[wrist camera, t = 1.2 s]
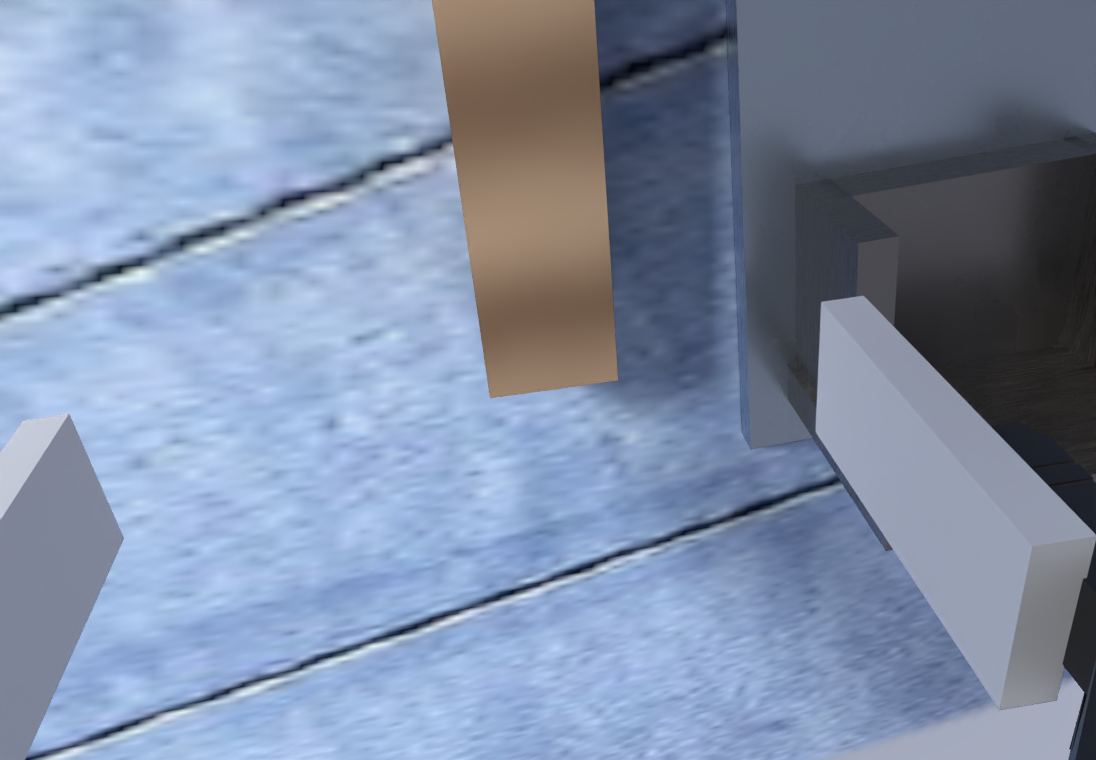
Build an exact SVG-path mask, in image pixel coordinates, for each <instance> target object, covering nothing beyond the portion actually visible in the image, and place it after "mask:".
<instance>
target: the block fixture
mask: <svg viewBox="0 0 1096 760" xmlns="http://www.w3.org/2000/svg"><path fill="white" fill-rule="evenodd" d="M726 25H727V51H728V78H729V105H730V131H731V158H732V184H733V211H734V237H735V264H736V291H737V317H738V344H739V370H740V397H741V423H742V434H743V436H744V438H745V439H746V441H747V443H748V445H749V447H750V449H755V448H760V447H766V446H771V445H777V444H783V443H788V442H794V441H799V440H805V439H810V438H813V439H814V441H815V442H816V444H817V445H818V447H819V448H820V450H821V451H822V453H823V455H824V456H825V458H826V459H827V461H828V462H829V464H830V465H831V467H832V468H833V470H834V472H835V473H836V475H837V476H838V478H839V479H840V481H841V482H842V484H843V485H844V487H845V488H846V490H847V492H848V493H849V495H850V496H851V498H852V499H853V501H854V502H855V504H856V505H857V507H858V509H859V510H860V512H861V513H862V515H863V516H864V518H865V519H866V521H867V522H868V524H869V526H870V527H871V529H872V530H873V532H874V533H875V535H876V536H877V538H878V539H879V541H880V542H881V544H882V546H883V547H884V549H885V550H886V551H888V550H893V548H892V547H891V545H890V544H889V542H888V541H887V539H886V538H885V536H884V535H883V533H882V532H881V530H880V529H879V527H878V526H877V524H876V523H875V521H874V520H873V518H872V517H871V515H870V514H869V512H868V511H867V509H866V508H865V506H864V505H863V503H862V502H861V500H860V499H859V497H858V495H857V494H856V492H855V491H854V489H853V488H852V486H851V485H850V483H849V482H848V480H847V479H846V477H845V476H844V474H843V473H842V471H841V470H840V468H839V467H838V465H837V464H836V462H835V461H834V459H833V458H832V456H831V455H830V453H829V452H828V450H827V449H826V447H825V446H824V444H823V442H822V441H821V439H820V438H819V436H818V435H817V433H816V409H817V386H818V364H819V341H820V318H821V302H824V301H831V300H838V299H845V298H851V297H858V296H864V297H865V298H866V299H867V300H868V301H869V302H870V303H871V304H872V305H873V306H874V307H875V308H876V309H877V310H878V311H879V312H880V313H881V314H882V315H883V316H884V317H885V318H886V319H887V320H888V321H889V322H890V323H891V324H892V325H893V326H894V327H895V328H896V329H897V331H898V332H899V333H900V334H901V335H902V336H903V337H904V338H905V339H906V340H907V341H908V342H909V343H910V344H911V345H912V346H913V347H914V348H915V349H916V350H917V351H918V352H919V353H920V354H921V355H922V356H923V357H924V358H925V359H926V360H927V361H928V362H929V363H930V365H931V366H932V367H933V368H934V369H935V370H936V371H937V372H938V373H939V374H940V375H941V376H942V377H943V378H944V379H945V380H946V381H947V382H948V383H949V384H950V385H951V386H952V387H953V388H954V389H955V390H956V391H957V392H958V393H959V394H960V395H961V396H962V397H963V398H964V400H965V401H966V402H967V403H968V404H969V405H970V406H971V407H972V408H973V409H974V410H975V411H976V412H977V413H978V414H979V415H980V416H981V417H982V418H983V419H984V420H985V421H986V422H987V423H988V424H989V425H990V426H994V425H1001V424H1007V423H1014V422H1020V423H1022V424H1024V425H1026V426H1028V427H1030V428H1032V429H1034V430H1036V431H1038V432H1040V433H1042V434H1044V435H1046V436H1048V437H1050V438H1052V439H1053V440H1054V441H1055V442H1056V443H1057V444H1058V445H1059V446H1061V447H1062V448H1063V449H1064V450H1065V451H1066V452H1067V453H1068V454H1069V455H1070V456H1071V457H1072V458H1073V459H1074V460H1075V464H1076V465H1078V464H1080V465H1081V466H1082V467H1083V468H1084V469H1085V470H1086V471H1087V472H1088V473H1089V474H1090V475H1091V476H1092V477H1093V480H1094V482H1096V0H726Z"/></svg>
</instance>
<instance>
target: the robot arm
mask: <svg viewBox="0 0 1096 760" xmlns="http://www.w3.org/2000/svg"><path fill="white" fill-rule="evenodd" d="M816 433H817V435H818V436H819V438H820V439H821V441H822V442H823V444H824V446H825V447H826V449H827V450H828V452H829V453H830V455H831V456H832V458H833V459H834V461H835V462H836V464H837V465H838V467H839V468H840V470H841V471H842V473H843V474H844V476H845V477H846V479H847V480H848V482H849V483H850V485H851V486H852V488H853V489H854V491H855V492H856V494H857V495H858V497H859V499H860V500H861V502H862V503H863V505H864V506H865V508H866V509H867V511H868V512H869V514H870V515H871V517H872V518H873V520H874V521H875V523H876V524H877V526H878V527H879V529H880V530H881V532H882V533H883V535H884V536H885V538H886V539H887V541H888V542H889V544H890V545H891V547H892V548H893V550H894V552H895V553H896V555H897V556H898V558H899V559H900V561H901V562H902V564H903V565H904V567H905V568H906V570H907V571H908V573H909V574H910V576H911V577H912V579H913V580H914V582H915V583H916V585H917V586H918V588H919V589H920V591H921V592H922V594H923V595H924V597H925V598H926V600H927V601H928V603H929V604H930V606H931V608H932V609H933V611H934V612H935V614H936V615H937V617H938V618H939V620H940V621H941V623H942V624H943V626H944V627H945V629H946V630H947V632H948V633H949V635H950V636H951V638H952V639H953V641H954V642H955V644H956V645H957V647H958V648H959V650H960V651H961V653H962V654H963V656H964V657H965V659H966V661H967V662H968V664H969V665H970V667H971V668H972V670H973V671H974V673H975V674H976V676H977V677H978V679H979V680H980V682H981V683H982V685H983V686H984V688H985V689H986V691H987V692H988V694H989V695H990V697H991V698H992V700H993V701H994V703H995V704H996V706H997V707H998V709H999V710H1003V709H1009V708H1015V707H1021V706H1027V705H1033V704H1039V703H1045V702H1051V701H1056V700H1057V697H1058V693H1059V689H1060V685H1061V681H1062V677H1063V673H1064V669H1065V668H1066V669H1067V671H1068V672H1069V673H1070V674H1071V676H1072V677H1073V678H1074V680H1075V681H1076V682H1077V683H1078V685H1079V686H1080V687H1081V688H1082V690H1083V691H1084V696H1083V700H1082V704H1081V708H1080V711H1079V715H1078V719H1077V722H1076V727H1075V730H1074V734H1073V738H1072V741H1071V745H1070V749H1071V751H1070V756H1069V760H1096V482H1094V480H1093V477H1092V476H1091V475H1090V474H1089V473H1088V472H1087V471H1086V470H1085V469H1084V468H1083V467H1082V466H1081V465H1080V464H1078V465H1076V464H1075V460H1074V459H1073V458H1072V457H1071V456H1070V455H1069V454H1068V453H1067V452H1066V451H1065V450H1064V449H1063V448H1062V447H1061V446H1059V445H1058V444H1057V443H1056V442H1055V441H1054V440H1053V439H1052V438H1050V437H1048V436H1046V435H1044V434H1042V433H1040V432H1038V431H1036V430H1034V429H1032V428H1030V427H1028V426H1026V425H1024V424H1022V423H1020V422H1014V423H1007V424H1001V425H994V426H990V425H989V424H988V423H987V422H986V421H985V420H984V419H983V418H982V417H981V416H980V415H979V414H978V413H977V412H976V411H975V410H974V409H973V408H972V407H971V406H970V405H969V404H968V403H967V402H966V401H965V400H964V398H963V397H962V396H961V395H960V394H959V393H958V392H957V391H956V390H955V389H954V388H953V387H952V386H951V385H950V384H949V383H948V382H947V381H946V380H945V379H944V378H943V377H942V376H941V375H940V374H939V373H938V372H937V371H936V370H935V369H934V368H933V367H932V366H931V365H930V363H929V362H928V361H927V360H926V359H925V358H924V357H923V356H922V355H921V354H920V353H919V352H918V351H917V350H916V349H915V348H914V347H913V346H912V345H911V344H910V343H909V342H908V341H907V340H906V339H905V338H904V337H903V336H902V335H901V334H900V333H899V332H898V331H897V329H896V328H895V327H894V326H893V325H892V324H891V323H890V322H889V321H888V320H887V319H886V318H885V317H884V316H883V315H882V314H881V313H880V312H879V311H878V310H877V309H876V308H875V307H874V306H873V305H872V304H871V303H870V302H869V301H868V300H867V299H866V298H865V297H864V296H858V297H851V298H845V299H838V300H831V301H824V302H821V318H820V341H819V364H818V386H817V409H816ZM123 539H124V537H123V535H122V533H121V531H120V528H119V526H118V524H117V522H116V519H115V517H114V515H113V512H112V510H111V508H110V506H109V503H108V501H107V499H106V497H105V494H104V492H103V490H102V487H101V485H100V483H99V481H98V478H97V476H96V474H95V472H94V469H93V467H92V465H91V462H90V460H89V458H88V456H87V453H86V451H85V449H84V446H83V444H82V442H81V440H80V437H79V435H78V433H77V431H76V428H75V426H74V424H73V421H72V419H71V417H70V415H69V414H63V415H57V416H50V417H43V418H36V419H30V420H24V421H23V422H22V423H21V425H20V426H19V428H18V429H17V430H16V432H15V433H14V435H13V436H12V437H11V439H10V440H9V442H8V443H7V444H6V446H5V447H4V449H3V450H2V451H1V453H0V760H25V758H26V756H27V754H28V751H29V749H30V747H31V745H32V742H33V740H34V738H35V736H36V734H37V731H38V729H39V727H40V725H41V722H42V720H43V718H44V716H45V713H46V711H47V709H48V707H49V705H50V702H51V700H52V698H53V696H54V693H55V691H56V689H57V687H58V684H59V682H60V680H61V678H62V675H63V673H64V671H65V669H66V667H67V664H68V662H69V660H70V658H71V655H72V653H73V651H74V649H75V646H76V644H77V642H78V640H79V638H80V635H81V633H82V631H83V629H84V626H85V624H86V622H87V620H88V617H89V615H90V613H91V611H92V609H93V606H94V604H95V602H96V600H97V597H98V595H99V593H100V591H101V588H102V586H103V584H104V582H105V580H106V577H107V575H108V573H109V571H110V568H111V566H112V564H113V562H114V559H115V557H116V555H117V553H118V551H119V548H120V546H121V544H122V542H123Z"/></svg>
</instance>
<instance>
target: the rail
mask: <svg viewBox="0 0 1096 760" xmlns="http://www.w3.org/2000/svg"><path fill="white" fill-rule="evenodd" d="M432 4H433V11H434V17H435V24H436V31H437V38H438V45H439V52H440V58H441V65H442V72H443V79H444V86H445V93H446V99H447V106H448V113H449V120H450V127H451V134H452V140H453V147H454V154H455V161H456V168H457V175H458V182H459V188H460V195H461V202H462V209H463V216H464V223H465V229H466V236H467V243H468V250H469V257H470V264H471V270H472V277H473V284H474V291H475V298H476V305H477V311H478V318H479V325H480V332H481V339H482V346H483V352H484V359H485V366H486V373H487V380H488V387H489V393H490V398H496V397H503V396H510V395H517V394H524V393H532V392H539V391H546V390H553V389H561V388H568V387H575V386H582V385H589V384H597V383H604V382H611V381H618V370H617V354H616V338H615V322H614V306H613V290H612V275H611V259H610V243H609V227H608V211H607V195H606V179H605V163H604V148H603V132H602V116H601V100H600V84H599V68H598V52H597V36H596V21H595V5H594V0H432Z"/></svg>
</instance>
